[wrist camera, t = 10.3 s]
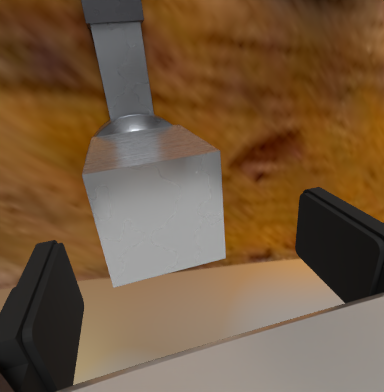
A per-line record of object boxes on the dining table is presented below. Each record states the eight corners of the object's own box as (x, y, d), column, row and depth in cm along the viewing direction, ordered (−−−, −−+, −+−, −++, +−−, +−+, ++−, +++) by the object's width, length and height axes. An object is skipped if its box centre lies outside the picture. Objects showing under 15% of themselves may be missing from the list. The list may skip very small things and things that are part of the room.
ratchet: (157, -128, 16) (182, -231, 11) (191, 197, 25) (214, 230, 19) (6, -136, 14) (-55, -263, 9) (100, 216, 23) (98, 258, 18)
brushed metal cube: (179, 124, 19) (220, 150, 12) (187, 200, 22) (225, 258, 15) (91, 137, 18) (82, 174, 11) (111, 216, 21) (113, 287, 14)
